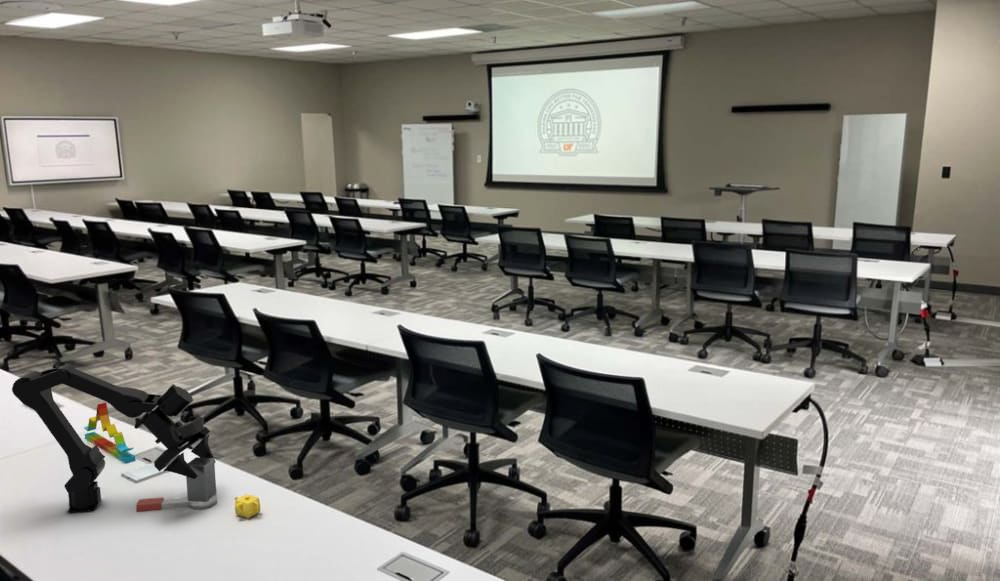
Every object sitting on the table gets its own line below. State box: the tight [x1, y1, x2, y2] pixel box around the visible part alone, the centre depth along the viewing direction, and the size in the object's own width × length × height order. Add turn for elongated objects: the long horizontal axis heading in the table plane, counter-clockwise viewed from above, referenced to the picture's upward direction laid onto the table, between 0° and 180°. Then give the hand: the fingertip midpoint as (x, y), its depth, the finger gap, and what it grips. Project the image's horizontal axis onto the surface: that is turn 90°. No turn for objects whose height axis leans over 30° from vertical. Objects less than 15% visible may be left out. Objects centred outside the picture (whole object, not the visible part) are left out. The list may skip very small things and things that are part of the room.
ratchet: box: [135, 493, 218, 513], centre depth 193 cm, size 20×7×4 cm, turn 102°
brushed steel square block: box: [185, 456, 217, 502], centre depth 194 cm, size 5×5×10 cm
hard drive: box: [120, 462, 170, 484], centre depth 214 cm, size 2×8×12 cm
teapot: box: [234, 493, 261, 520], centre depth 189 cm, size 8×6×5 cm
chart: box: [83, 402, 136, 465], centre depth 230 cm, size 30×3×15 cm, turn 50°
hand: (205, 470), depth 193 cm, fingers open, 9 cm apart
